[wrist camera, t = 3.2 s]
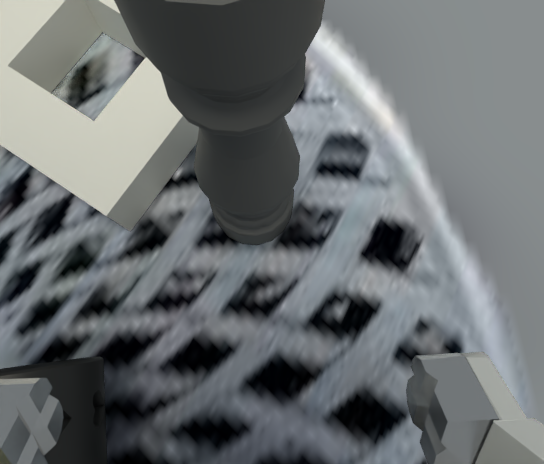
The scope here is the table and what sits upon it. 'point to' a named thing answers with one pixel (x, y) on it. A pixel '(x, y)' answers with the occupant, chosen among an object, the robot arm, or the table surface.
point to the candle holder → (234, 97)
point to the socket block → (76, 126)
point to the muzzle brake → (74, 407)
